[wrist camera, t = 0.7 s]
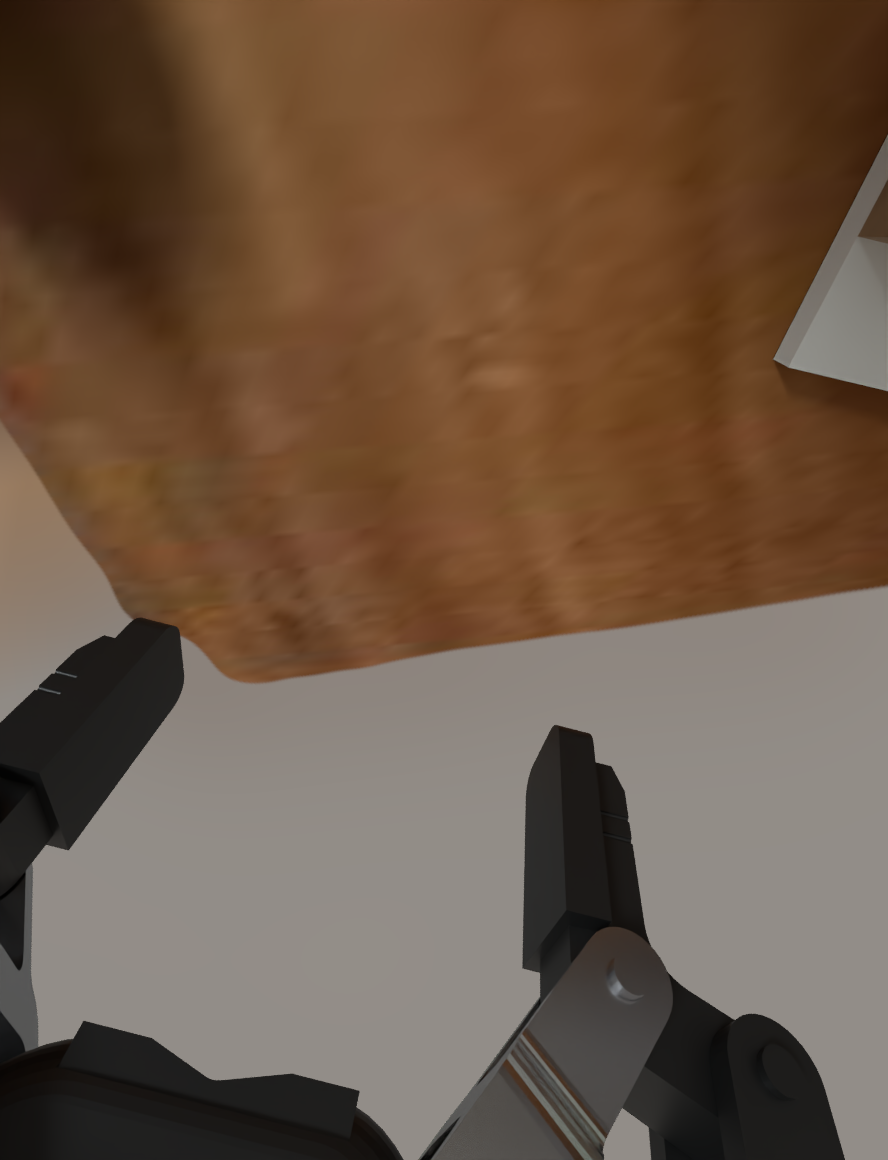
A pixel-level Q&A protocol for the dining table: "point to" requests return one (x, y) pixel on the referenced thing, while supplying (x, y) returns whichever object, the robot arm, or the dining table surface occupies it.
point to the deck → (847, 301)
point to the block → (877, 219)
